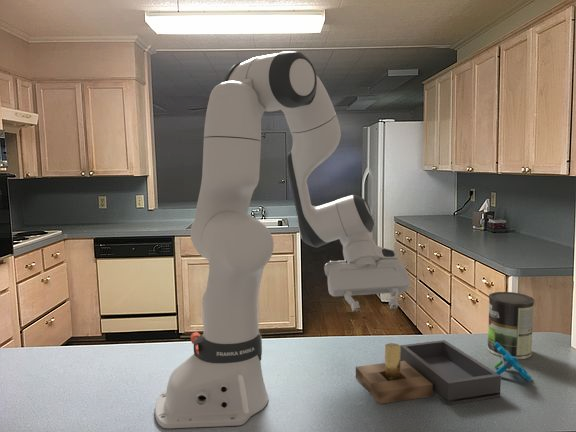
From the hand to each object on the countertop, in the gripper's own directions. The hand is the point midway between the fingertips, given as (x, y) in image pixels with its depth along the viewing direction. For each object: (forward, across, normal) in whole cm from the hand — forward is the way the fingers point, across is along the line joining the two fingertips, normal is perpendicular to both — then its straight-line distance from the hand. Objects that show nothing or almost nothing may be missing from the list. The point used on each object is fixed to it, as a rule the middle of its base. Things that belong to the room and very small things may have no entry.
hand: (375, 308), depth 107 cm
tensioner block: (+17, 0, +2) cm, 18 cm away
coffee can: (+9, +36, +11) cm, 39 cm away
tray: (+17, +13, +3) cm, 21 cm away
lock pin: (+17, 0, +2) cm, 18 cm away
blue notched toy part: (+18, +28, +2) cm, 33 cm away
